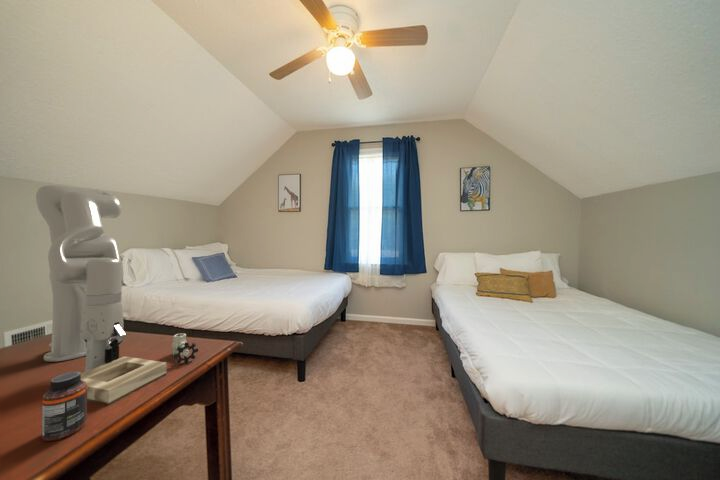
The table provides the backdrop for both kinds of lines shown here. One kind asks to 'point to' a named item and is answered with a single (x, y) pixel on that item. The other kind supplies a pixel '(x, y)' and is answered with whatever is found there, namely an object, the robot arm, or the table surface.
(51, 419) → the supplement bottle
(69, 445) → the table surface
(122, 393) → the socket block
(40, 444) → the table surface
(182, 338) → the valve
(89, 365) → the skincare box
